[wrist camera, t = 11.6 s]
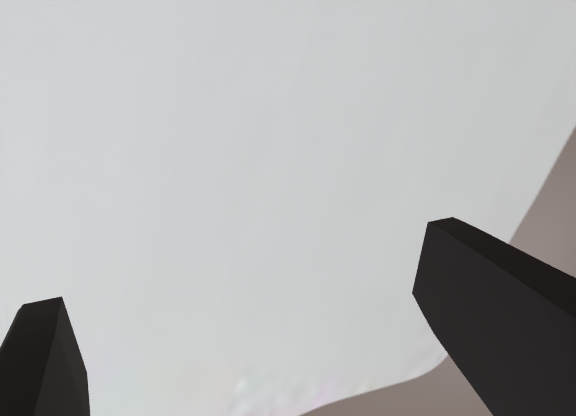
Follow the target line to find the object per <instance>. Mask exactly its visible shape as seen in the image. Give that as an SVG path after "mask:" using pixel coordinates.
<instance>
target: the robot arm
mask: <svg viewBox="0 0 576 416" xmlns="http://www.w3.org/2000/svg"><path fill="white" fill-rule="evenodd" d="M412 294H413V295H414V297H415V299H416V301H417V303H418V305H419V307H420V309H421V311H422V313H423V315H424V317H425V318H426V320H427V322H428V324H429V326H430V327H431V329H432V331H433V333H434V334H435V336H436V337H437V339H438V340H439V341H440V343H441V344H442V346H443V347H444V348H445V350H446V351H447V353H448V354H449V355H450V357H451V358H452V359H453V361H454V362H455V364H456V365H457V367H458V368H459V369H460V370H461V372H462V373H463V375H464V376H465V377H466V379H467V380H468V382H469V383H470V384H471V386H472V387H473V388H474V390H475V391H476V392H477V394H478V395H479V397H480V398H481V399H482V401H483V402H484V403H485V405H486V406H487V408H488V409H489V410H490V412H491V413H492V414H493V416H576V278H575V277H573V276H570V275H568V274H566V273H564V272H562V271H560V270H558V269H556V268H554V267H552V266H550V265H548V264H546V263H544V262H542V261H540V260H538V259H536V258H534V257H532V256H530V255H528V254H526V253H525V252H523V251H521V250H519V249H517V248H515V247H513V246H511V245H509V244H507V243H505V242H503V241H501V240H499V239H497V238H495V237H493V236H492V235H490V234H488V233H486V232H484V231H482V230H480V229H478V228H476V227H473V226H471V225H469V224H467V223H465V222H463V221H461V220H458V219H456V218H454V217H451V218H446V219H441V220H436V221H431V222H428V224H427V228H426V233H425V237H424V242H423V246H422V251H421V255H420V260H419V264H418V269H417V274H416V278H415V283H414V287H413V292H412ZM0 416H90V406H89V392H88V380H87V371H86V368H85V365H84V362H83V359H82V356H81V353H80V350H79V347H78V344H77V341H76V338H75V335H74V332H73V329H72V326H71V323H70V320H69V317H68V313H67V310H66V307H65V304H64V301H63V298H62V297H57V298H52V299H48V300H43V301H38V302H33V303H28V304H23V305H22V307H21V308H20V309H19V310H18V312H17V314H16V316H15V318H14V320H13V322H12V325H11V327H10V329H9V331H8V333H7V335H6V337H5V339H4V341H3V343H2V345H1V347H0Z"/></svg>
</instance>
